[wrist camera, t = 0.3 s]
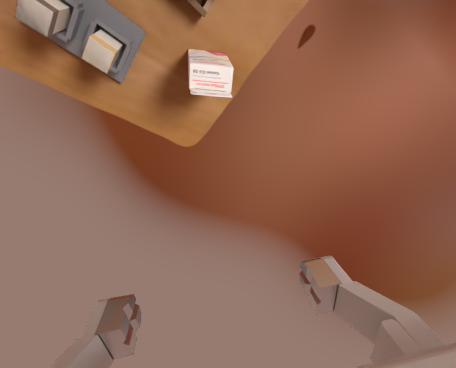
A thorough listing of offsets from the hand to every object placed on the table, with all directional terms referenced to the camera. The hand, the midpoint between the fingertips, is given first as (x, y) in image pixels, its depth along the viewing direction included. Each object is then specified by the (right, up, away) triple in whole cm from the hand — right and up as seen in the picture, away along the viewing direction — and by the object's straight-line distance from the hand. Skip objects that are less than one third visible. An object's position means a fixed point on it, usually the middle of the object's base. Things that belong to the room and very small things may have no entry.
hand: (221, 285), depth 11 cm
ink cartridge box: (-5, +33, +39) cm, 51 cm away
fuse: (-23, +33, +33) cm, 52 cm away
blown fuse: (-30, +37, +28) cm, 55 cm away
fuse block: (-27, +36, +31) cm, 55 cm away
